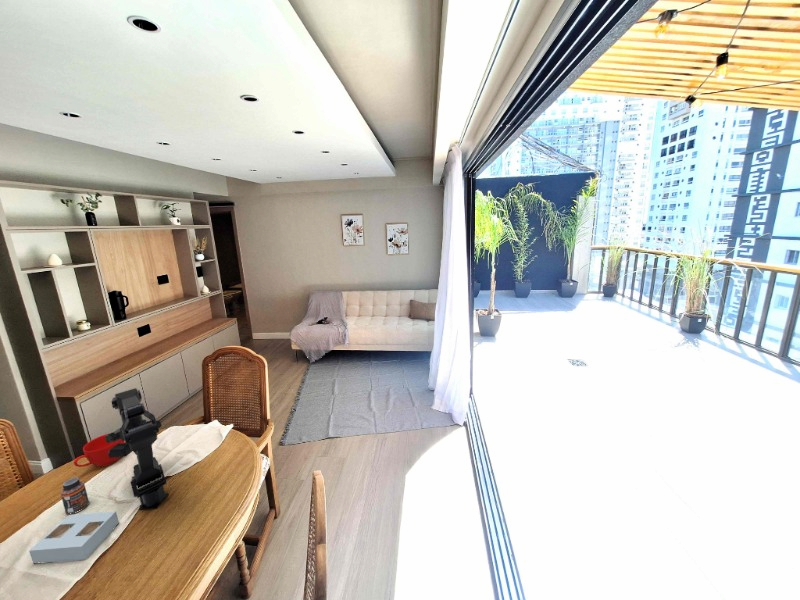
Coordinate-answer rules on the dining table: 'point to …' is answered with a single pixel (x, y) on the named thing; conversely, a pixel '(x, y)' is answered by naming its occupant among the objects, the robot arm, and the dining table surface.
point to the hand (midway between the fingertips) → (141, 456)
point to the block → (74, 538)
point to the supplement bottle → (74, 495)
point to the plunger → (60, 531)
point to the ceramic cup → (98, 452)
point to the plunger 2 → (89, 529)
